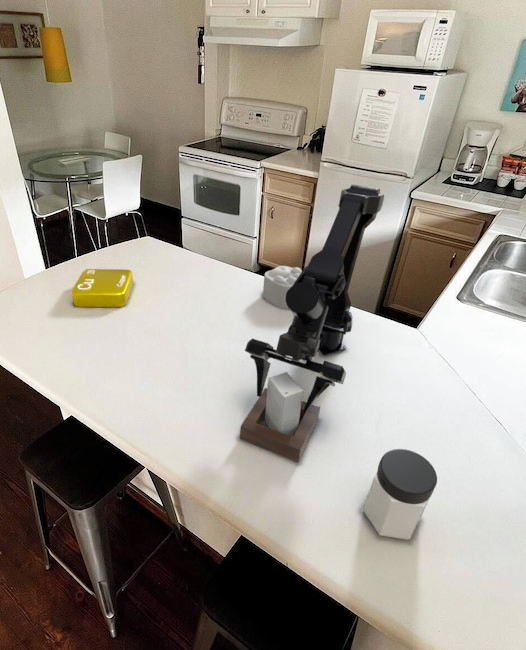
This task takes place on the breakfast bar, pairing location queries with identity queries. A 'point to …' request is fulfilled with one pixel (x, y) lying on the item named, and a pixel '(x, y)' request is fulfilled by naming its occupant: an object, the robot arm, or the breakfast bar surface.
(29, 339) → the breakfast bar surface
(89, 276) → the element tile
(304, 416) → the frame
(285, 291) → the lumpy-topped squat cylinder
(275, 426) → the cosmetic box
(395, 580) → the breakfast bar surface
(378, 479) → the jar
